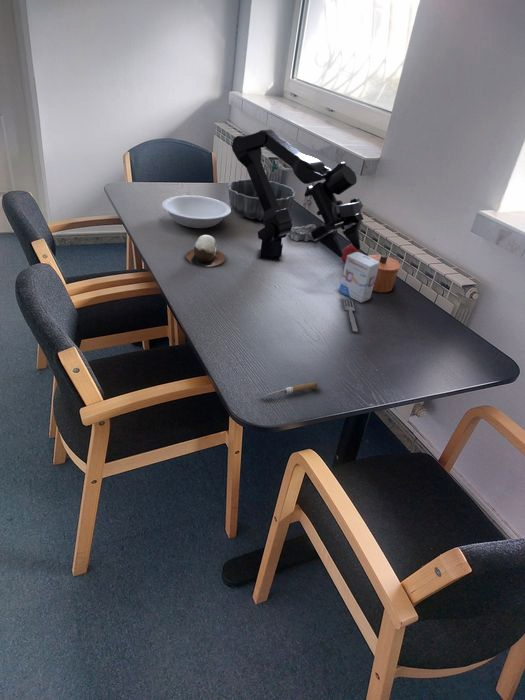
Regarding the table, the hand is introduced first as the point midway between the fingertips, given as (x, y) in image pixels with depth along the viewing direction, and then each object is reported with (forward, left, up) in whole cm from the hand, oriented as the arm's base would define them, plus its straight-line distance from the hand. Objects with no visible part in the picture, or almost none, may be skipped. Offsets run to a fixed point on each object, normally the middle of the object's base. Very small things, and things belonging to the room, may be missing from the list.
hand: (350, 252), depth 138 cm
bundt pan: (-27, +58, -12) cm, 65 cm away
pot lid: (+12, +6, -4) cm, 14 cm away
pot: (+12, +6, -12) cm, 17 cm away
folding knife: (-17, -52, -12) cm, 56 cm away
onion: (+4, +18, -12) cm, 22 cm away
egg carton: (-10, +38, -12) cm, 41 cm away
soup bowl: (-49, +38, -12) cm, 63 cm away
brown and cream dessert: (-42, +10, -12) cm, 45 cm away
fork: (+1, -16, -12) cm, 20 cm away
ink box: (+3, -3, -12) cm, 13 cm away
